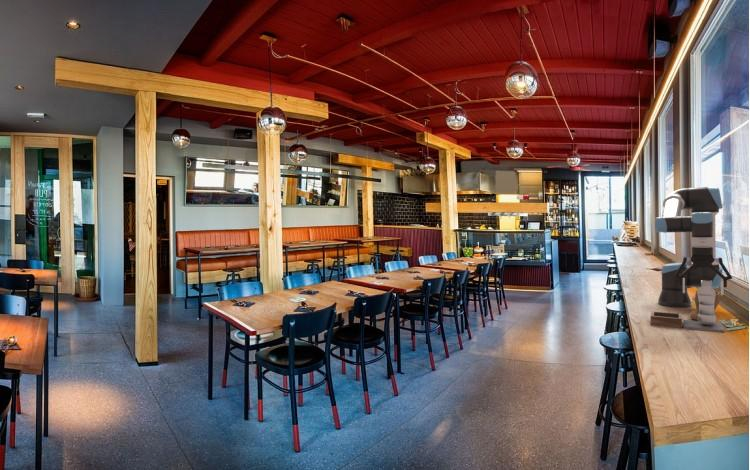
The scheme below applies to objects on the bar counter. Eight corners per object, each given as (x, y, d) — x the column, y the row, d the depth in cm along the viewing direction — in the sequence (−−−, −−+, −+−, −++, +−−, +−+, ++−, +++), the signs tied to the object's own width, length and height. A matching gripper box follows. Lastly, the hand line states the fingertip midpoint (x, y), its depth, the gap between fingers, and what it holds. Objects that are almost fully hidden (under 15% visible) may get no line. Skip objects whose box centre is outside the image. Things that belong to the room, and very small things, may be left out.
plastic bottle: (720, 326, 185) (719, 281, 184) (704, 326, 185) (704, 281, 184) (708, 323, 191) (708, 279, 190) (693, 323, 191) (693, 279, 191)
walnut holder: (651, 319, 205) (651, 311, 205) (681, 322, 198) (681, 313, 198) (650, 324, 195) (650, 316, 195) (682, 327, 188) (682, 318, 188)
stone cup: (719, 324, 191) (719, 292, 191) (687, 321, 200) (687, 289, 199) (722, 318, 202) (722, 287, 202) (691, 315, 211) (691, 285, 210)
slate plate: (683, 321, 199) (683, 319, 199) (721, 325, 190) (721, 323, 190) (683, 328, 187) (683, 326, 187) (724, 332, 179) (724, 330, 179)
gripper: (668, 247, 192) (668, 293, 193) (740, 247, 177) (740, 297, 178) (668, 245, 198) (668, 290, 199) (737, 246, 183) (738, 294, 184)
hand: (702, 293), depth 189 cm, fingers open, 13 cm apart
